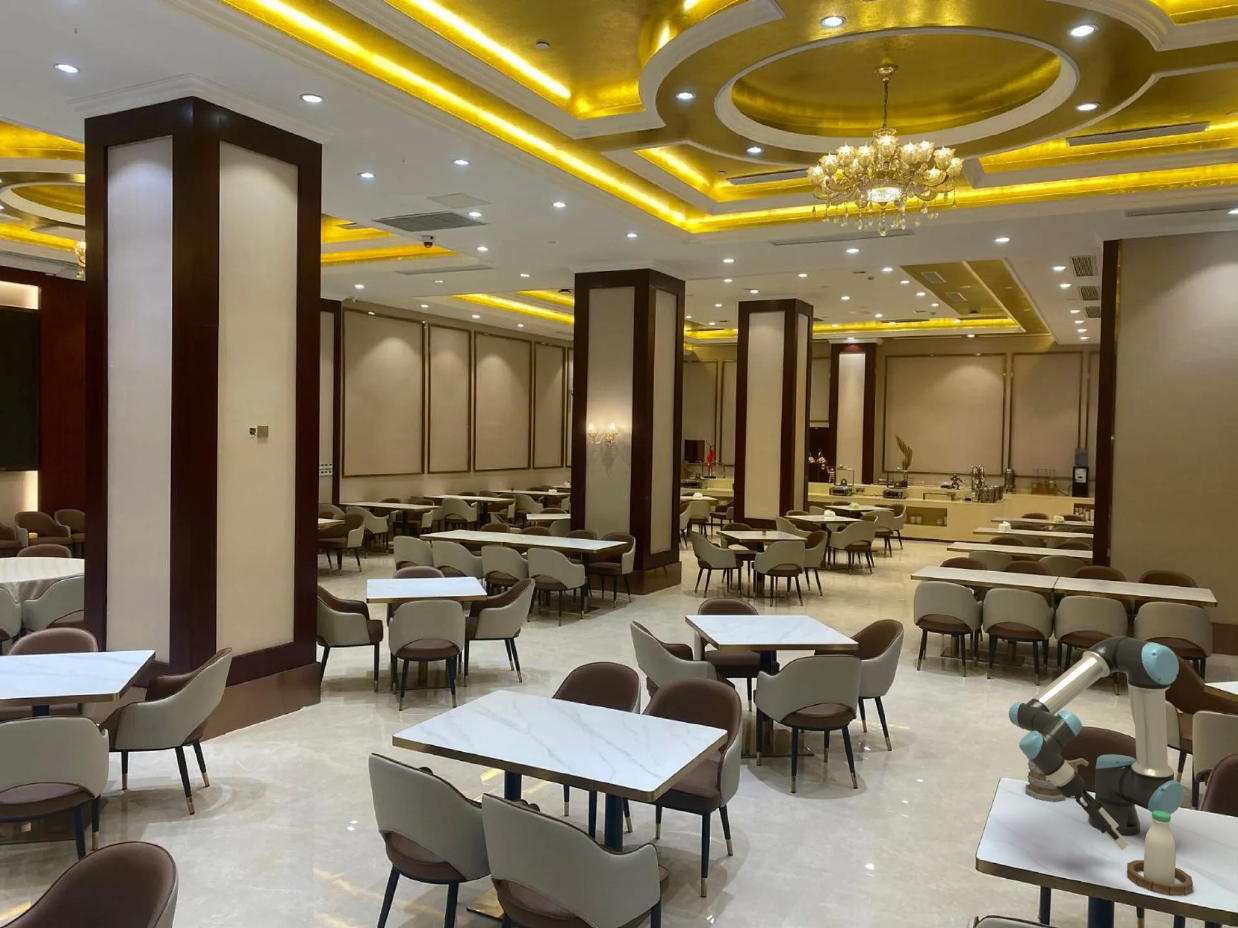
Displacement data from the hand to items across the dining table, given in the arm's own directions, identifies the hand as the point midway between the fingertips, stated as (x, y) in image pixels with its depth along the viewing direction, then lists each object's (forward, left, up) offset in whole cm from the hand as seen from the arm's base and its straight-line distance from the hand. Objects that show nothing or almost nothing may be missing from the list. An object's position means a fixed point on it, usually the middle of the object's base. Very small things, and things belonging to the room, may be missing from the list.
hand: (1120, 837), depth 261 cm
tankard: (-58, -19, -11) cm, 62 cm away
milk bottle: (-2, +10, -11) cm, 15 cm away
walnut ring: (-2, +10, -11) cm, 15 cm away
